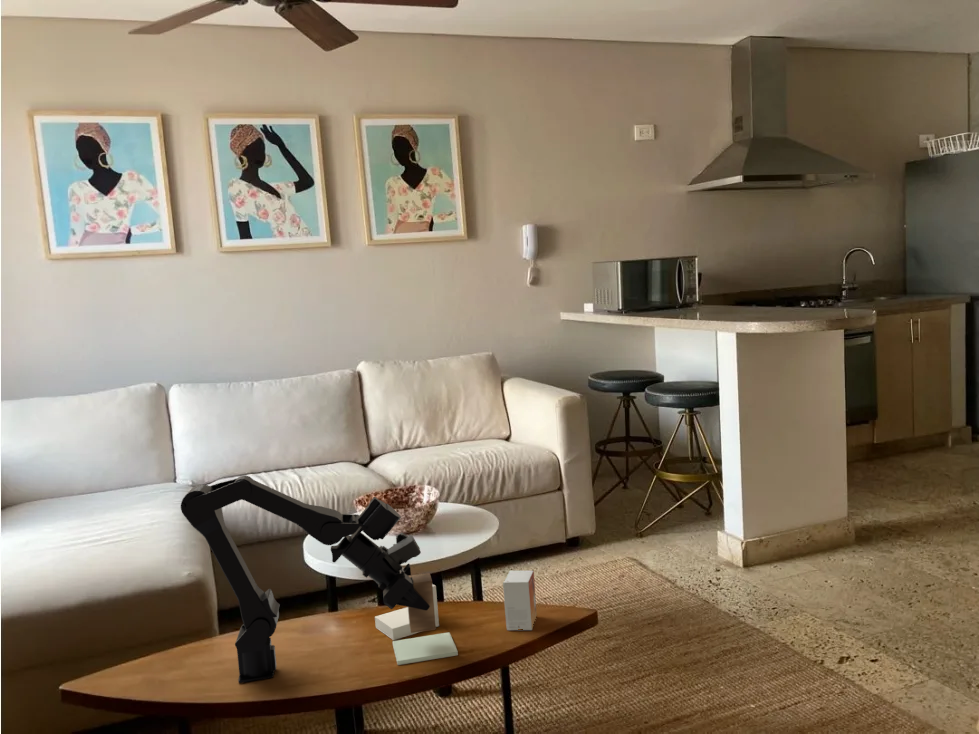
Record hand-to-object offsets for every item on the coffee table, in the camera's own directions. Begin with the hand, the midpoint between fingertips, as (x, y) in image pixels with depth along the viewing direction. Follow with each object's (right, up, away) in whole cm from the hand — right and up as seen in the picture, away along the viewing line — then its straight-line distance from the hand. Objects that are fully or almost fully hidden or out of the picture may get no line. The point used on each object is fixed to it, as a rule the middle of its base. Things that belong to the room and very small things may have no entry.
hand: (427, 603), depth 162 cm
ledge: (-5, -9, +13) cm, 17 cm away
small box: (+20, -8, +10) cm, 24 cm away
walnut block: (-1, -5, 0) cm, 5 cm away
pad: (-1, -10, 0) cm, 10 cm away
